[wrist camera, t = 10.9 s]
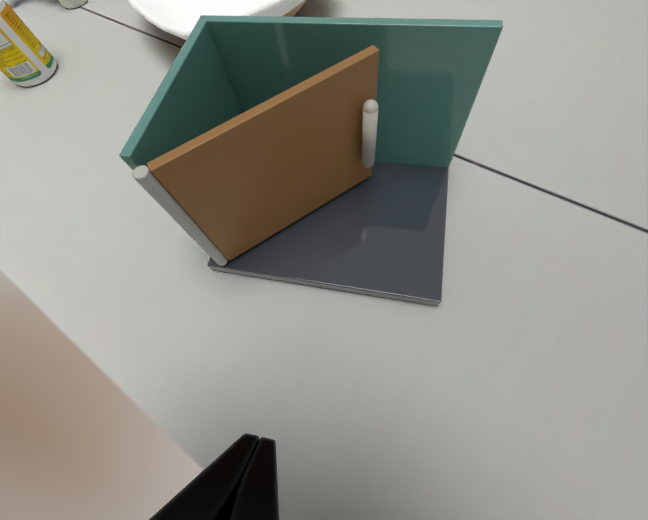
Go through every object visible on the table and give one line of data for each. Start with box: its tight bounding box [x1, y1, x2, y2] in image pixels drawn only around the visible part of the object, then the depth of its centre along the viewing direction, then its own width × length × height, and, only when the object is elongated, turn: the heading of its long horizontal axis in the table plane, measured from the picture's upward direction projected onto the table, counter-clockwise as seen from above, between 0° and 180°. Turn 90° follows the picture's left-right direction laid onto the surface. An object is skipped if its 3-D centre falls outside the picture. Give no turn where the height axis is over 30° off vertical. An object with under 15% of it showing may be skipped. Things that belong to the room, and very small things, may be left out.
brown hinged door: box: [132, 45, 379, 266], centre depth 20 cm, size 2×14×10 cm, turn 123°
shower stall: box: [119, 15, 503, 306], centre depth 21 cm, size 12×17×12 cm
